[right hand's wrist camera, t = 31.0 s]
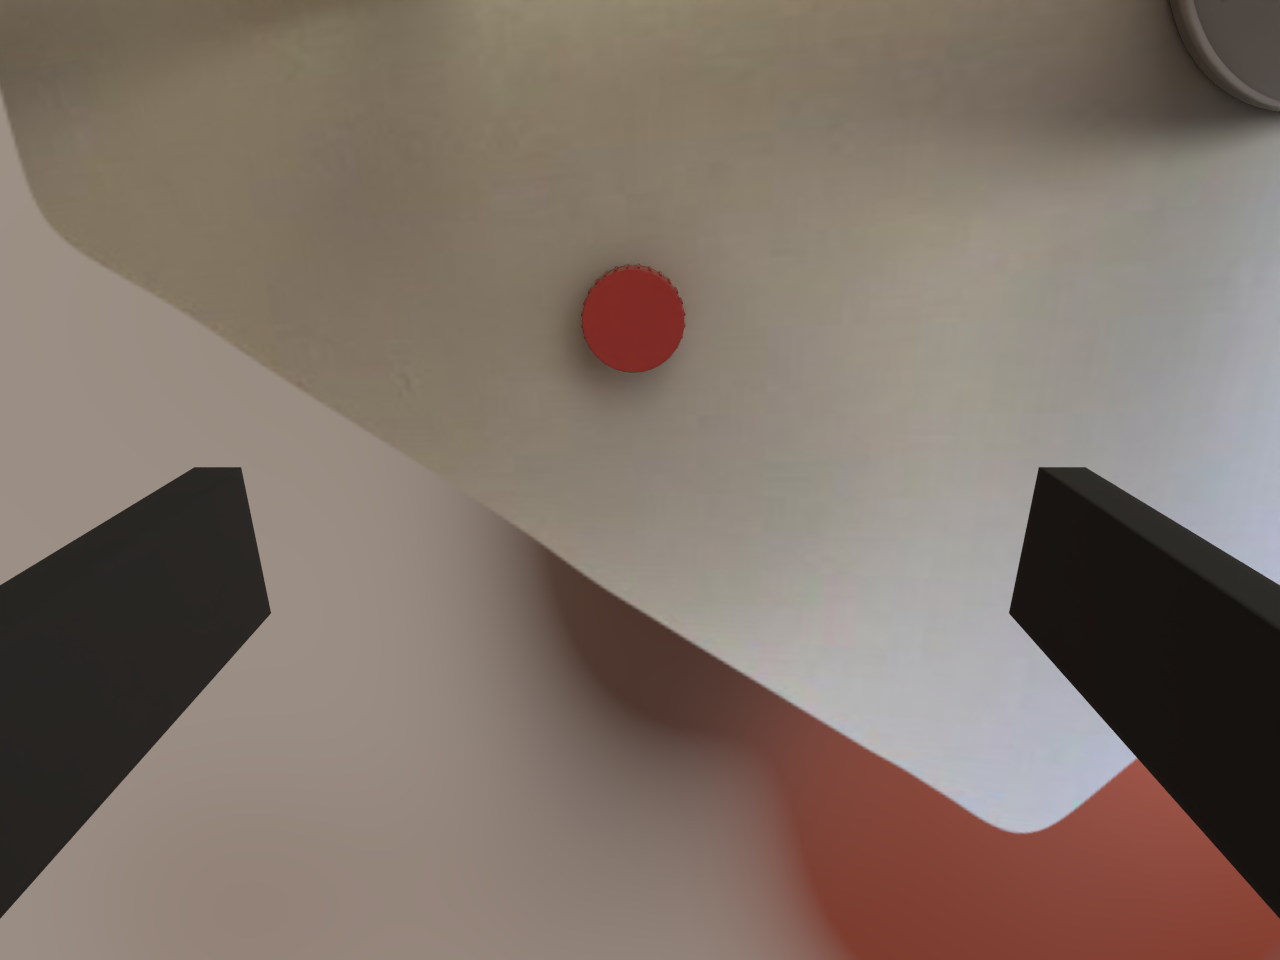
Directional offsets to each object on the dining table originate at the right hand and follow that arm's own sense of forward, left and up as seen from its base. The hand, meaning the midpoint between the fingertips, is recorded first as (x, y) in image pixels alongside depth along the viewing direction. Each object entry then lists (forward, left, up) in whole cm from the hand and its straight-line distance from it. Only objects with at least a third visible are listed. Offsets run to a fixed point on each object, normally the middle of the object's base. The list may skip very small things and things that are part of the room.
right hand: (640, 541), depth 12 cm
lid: (0, 0, -24) cm, 24 cm away
